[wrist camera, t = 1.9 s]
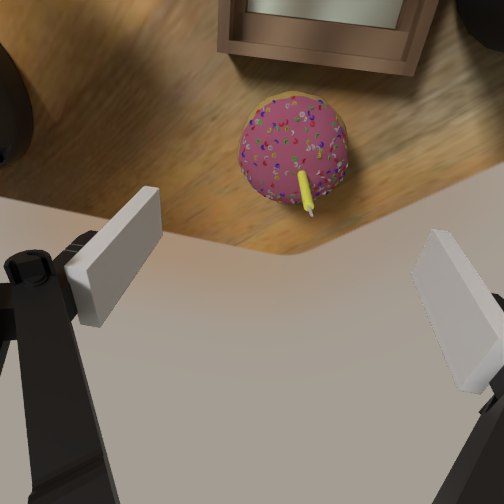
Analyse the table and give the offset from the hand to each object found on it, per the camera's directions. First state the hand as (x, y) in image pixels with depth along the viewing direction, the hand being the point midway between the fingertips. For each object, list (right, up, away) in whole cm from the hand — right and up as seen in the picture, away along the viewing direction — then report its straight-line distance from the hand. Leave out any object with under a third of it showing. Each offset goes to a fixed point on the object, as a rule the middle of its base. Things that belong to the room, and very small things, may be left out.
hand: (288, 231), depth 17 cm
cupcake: (+2, +9, +13) cm, 17 cm away
